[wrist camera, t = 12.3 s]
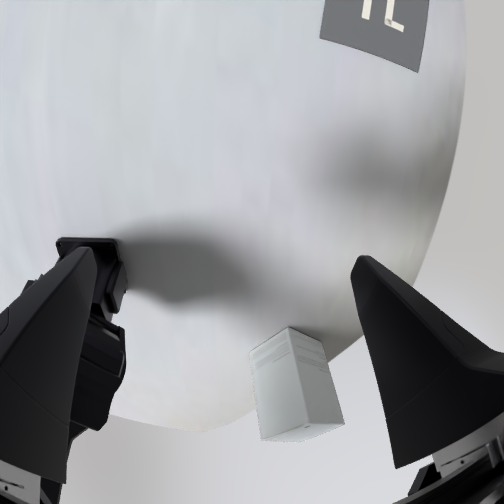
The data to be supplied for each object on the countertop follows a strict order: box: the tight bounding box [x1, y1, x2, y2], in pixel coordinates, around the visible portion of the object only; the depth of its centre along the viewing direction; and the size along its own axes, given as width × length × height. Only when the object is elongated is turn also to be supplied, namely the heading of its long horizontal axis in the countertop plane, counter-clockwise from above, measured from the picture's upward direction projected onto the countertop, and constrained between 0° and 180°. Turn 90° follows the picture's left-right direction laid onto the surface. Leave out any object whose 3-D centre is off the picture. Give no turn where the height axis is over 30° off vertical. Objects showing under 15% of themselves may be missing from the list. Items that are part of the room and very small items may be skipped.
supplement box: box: [249, 327, 345, 442], centre depth 32 cm, size 7×7×13 cm
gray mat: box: [320, 0, 429, 73], centre depth 13 cm, size 9×9×1 cm
